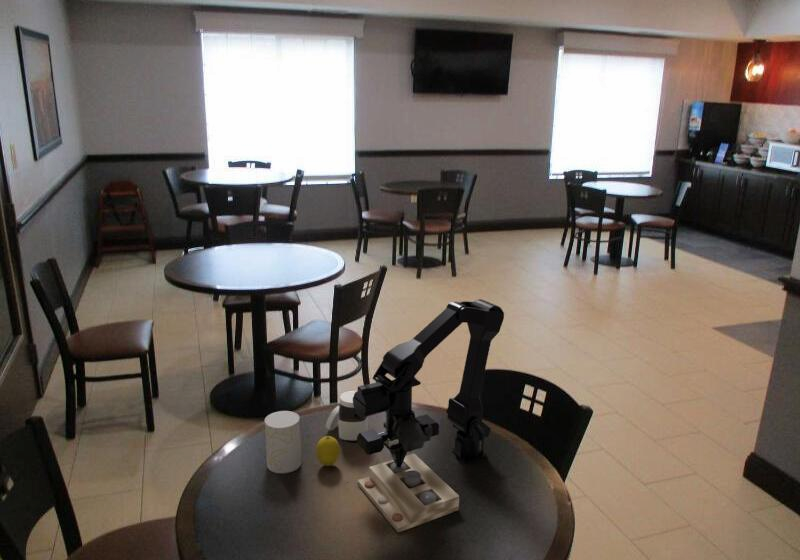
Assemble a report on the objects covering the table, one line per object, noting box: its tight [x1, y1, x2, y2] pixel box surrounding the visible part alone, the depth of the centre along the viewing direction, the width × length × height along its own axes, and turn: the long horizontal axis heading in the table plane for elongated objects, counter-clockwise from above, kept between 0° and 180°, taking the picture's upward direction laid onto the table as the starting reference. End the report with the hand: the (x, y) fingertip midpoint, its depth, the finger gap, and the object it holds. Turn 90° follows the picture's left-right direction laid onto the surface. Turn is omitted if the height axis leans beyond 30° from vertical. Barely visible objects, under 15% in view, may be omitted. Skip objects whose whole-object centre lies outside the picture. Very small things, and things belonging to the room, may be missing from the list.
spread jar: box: [325, 390, 369, 445], centre depth 161 cm, size 12×11×12 cm
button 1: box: [391, 462, 406, 474], centre depth 142 cm, size 4×4×2 cm
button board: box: [357, 453, 460, 533], centre depth 137 cm, size 15×19×4 cm
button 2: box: [420, 492, 436, 505], centre depth 132 cm, size 4×4×2 cm
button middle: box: [404, 470, 421, 488], centre depth 137 cm, size 4×4×2 cm
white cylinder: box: [264, 410, 302, 474], centre depth 147 cm, size 8×8×12 cm
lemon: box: [316, 435, 341, 467], centre depth 147 cm, size 6×6×8 cm
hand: (398, 466), depth 142 cm, fingers closed, pressing on button 1
